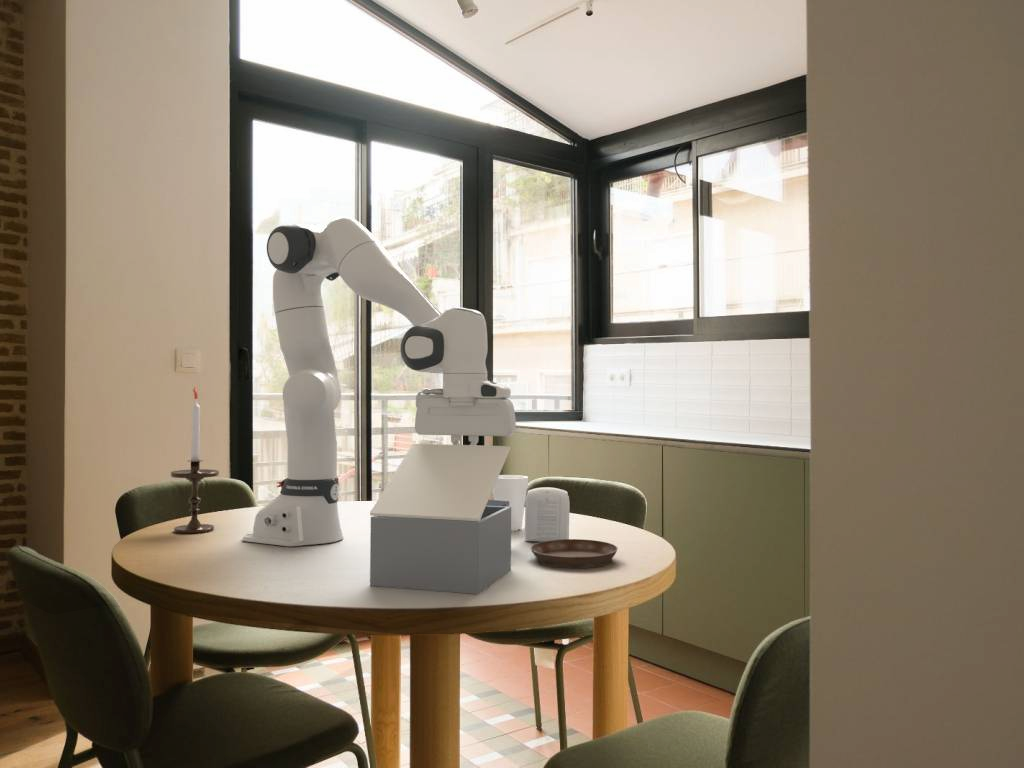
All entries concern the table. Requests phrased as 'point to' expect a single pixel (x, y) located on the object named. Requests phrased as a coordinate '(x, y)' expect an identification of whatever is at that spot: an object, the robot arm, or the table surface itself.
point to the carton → (441, 552)
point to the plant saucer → (574, 553)
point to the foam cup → (512, 496)
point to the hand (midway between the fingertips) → (464, 458)
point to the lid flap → (442, 482)
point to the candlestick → (194, 476)
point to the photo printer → (546, 514)
